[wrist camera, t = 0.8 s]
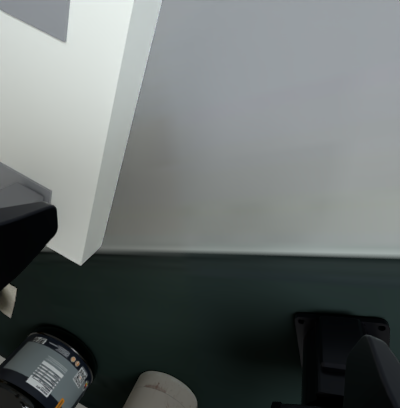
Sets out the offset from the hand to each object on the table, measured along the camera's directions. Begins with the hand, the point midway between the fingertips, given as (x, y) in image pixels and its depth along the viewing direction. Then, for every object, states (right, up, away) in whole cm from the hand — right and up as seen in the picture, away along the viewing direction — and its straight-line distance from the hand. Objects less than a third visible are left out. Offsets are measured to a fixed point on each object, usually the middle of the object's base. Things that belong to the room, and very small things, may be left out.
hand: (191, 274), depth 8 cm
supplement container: (-18, -18, +32) cm, 41 cm away
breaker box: (-12, +10, +14) cm, 21 cm away
